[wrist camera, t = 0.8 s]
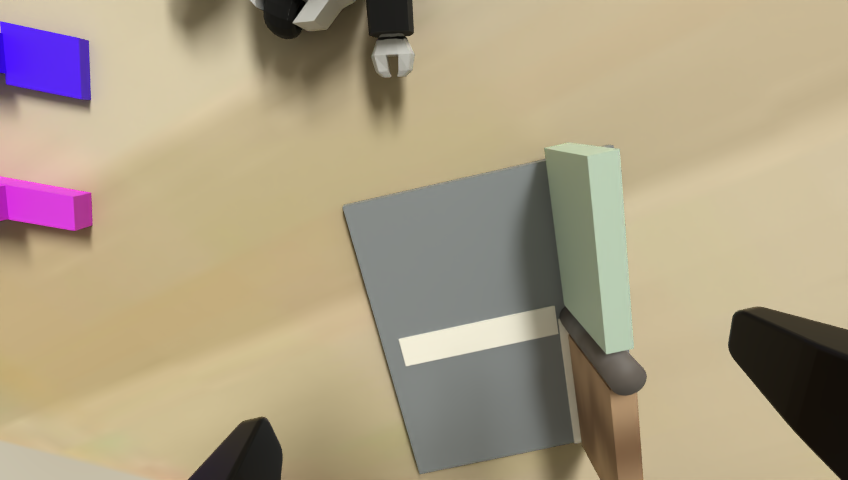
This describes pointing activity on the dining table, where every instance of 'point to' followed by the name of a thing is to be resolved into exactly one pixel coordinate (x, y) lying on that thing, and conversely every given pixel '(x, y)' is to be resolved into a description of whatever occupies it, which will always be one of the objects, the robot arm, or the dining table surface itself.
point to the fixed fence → (606, 403)
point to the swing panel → (592, 240)
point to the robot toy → (321, 3)
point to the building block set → (58, 74)
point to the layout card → (471, 314)
